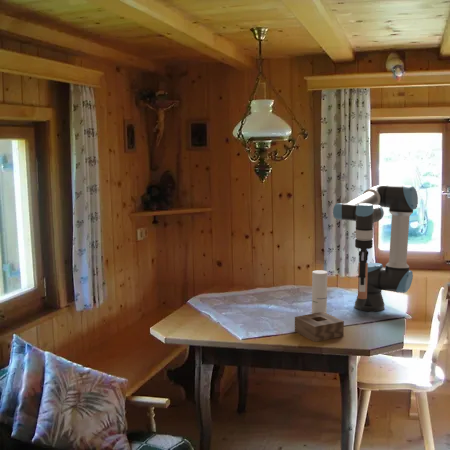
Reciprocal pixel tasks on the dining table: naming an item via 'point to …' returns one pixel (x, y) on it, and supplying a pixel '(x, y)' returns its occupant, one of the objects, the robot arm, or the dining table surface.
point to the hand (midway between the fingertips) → (362, 290)
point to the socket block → (319, 326)
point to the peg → (364, 294)
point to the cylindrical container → (319, 291)
